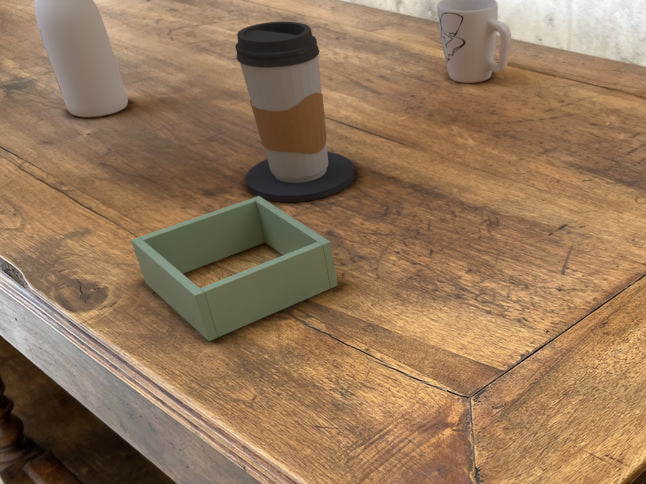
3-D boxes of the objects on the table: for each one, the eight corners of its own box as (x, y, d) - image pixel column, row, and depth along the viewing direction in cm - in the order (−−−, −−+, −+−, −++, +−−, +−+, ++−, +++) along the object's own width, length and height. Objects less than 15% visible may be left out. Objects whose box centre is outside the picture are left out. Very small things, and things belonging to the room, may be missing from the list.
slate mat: (227, 178, 91) (226, 171, 90) (318, 148, 97) (317, 142, 96) (282, 213, 84) (280, 206, 83) (375, 179, 90) (375, 172, 89)
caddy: (145, 283, 73) (130, 239, 70) (268, 237, 80) (258, 195, 77) (209, 341, 66) (194, 295, 63) (338, 285, 72) (330, 241, 70)
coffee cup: (297, 151, 94) (272, 16, 85) (353, 165, 91) (333, 26, 81) (246, 177, 89) (213, 36, 79) (303, 194, 85) (275, 48, 76)
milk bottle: (141, 104, 109) (91, -60, 97) (91, 122, 104) (32, -48, 92) (106, 95, 113) (53, -65, 100) (56, 111, 108) (-6, -55, 95)
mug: (526, 77, 117) (527, 4, 110) (492, 94, 111) (490, 17, 105) (465, 63, 122) (462, -8, 116) (429, 78, 117) (424, 5, 110)
